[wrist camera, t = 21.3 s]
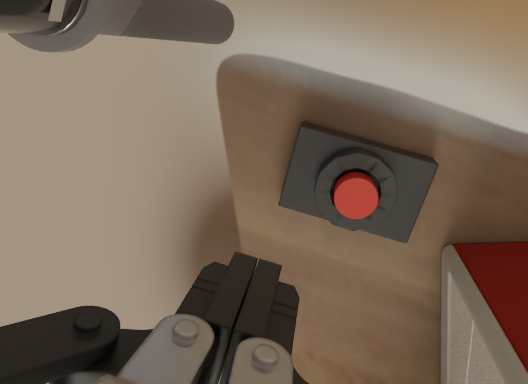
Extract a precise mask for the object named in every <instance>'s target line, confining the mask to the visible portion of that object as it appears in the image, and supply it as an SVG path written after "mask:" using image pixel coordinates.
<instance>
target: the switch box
mask: <svg viewBox="0 0 528 384" xmlns="http://www.w3.org/2000/svg"><path fill="white" fill-rule="evenodd" d="M438 166H439V164H438V163H437V162H436V161H435V160H434V159H433V158H431V157H427V156H424V155H420V154H417V153H413V152H409V151H406V150H402V149H399V148H395V147H392V146H388V145H384V144H381V143H377V142H374V141H370V140H367V139H363V138H360V137H356V136H352V135H349V134H345V133H342V132H338V131H335V130H331V129H327V128H324V127H320V126H317V125H313V124H310V123H306V122H303V123H302V124H301V126H300V129H299V133H298V136H297V140H296V144H295V147H294V151H293V154H292V158H291V161H290V165H289V169H288V172H287V176H286V179H285V183H284V186H283V190H282V194H281V197H280V201H279V206H282V207H286V208H289V209H292V210H296V211H299V212H302V213H306V214H309V215H312V216H316V217H319V218H322V219H326V220H329V221H330V222H331V223H332V224H334V225H335V226H339V227H342V228H345V229H349V230H352V231H353V230H354V231H355V230H363V231H366V232H369V233H373V234H376V235H379V236H383V237H386V238H389V239H393V240H396V241H399V242H403V243H407V241H408V239H409V236H410V234H411V231H412V229H413V227H414V224H415V222H416V219H417V217H418V214H419V212H420V209H421V207H422V205H423V202H424V200H425V197H426V195H427V192H428V190H429V188H430V185H431V183H432V180H433V178H434V175H435V173H436V170H437V168H438ZM350 172H361V173H364V174H366V175H368V176H369V177H371V178H372V180H373V181H374V182H375V185H376V188H377V192H378V197H379V200H378V204H377V207H376V209H375V210H374V211H373V212H372V213H371V214H370V215H369V216H367V217H364V218H361V219H351V218H348V217H345V216H344V215H342V214H341V213H340V212H339V211H338V210H337V208H336V206H335V203H334V188H335V185H336V183H337V181H338V180H339V179H340V178H341V177H342V176H343V175H345V174H347V173H350Z"/></svg>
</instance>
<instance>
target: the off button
mask: <svg viewBox="0 0 528 384" xmlns="http://www.w3.org/2000/svg"><path fill="white" fill-rule="evenodd" d="M378 200H379V197H378V192H377V188H376V185H375V182H374V181H373V180H372V178H371V177H369V176H368V175H366V174H364V173H361V172H350V173H347V174H345V175H343V176H342V177H341V178H340V179H339V180H338V181H337V183H336V185H335V188H334V203H335V206H336V208H337V210H338V211H339V212H340V213H341V214H342V215H344V216H345V217H348V218H351V219H361V218H364V217H367V216H369V215H370V214H371V213H372V212H373V211H374V210H375V209H376V207H377V204H378Z"/></svg>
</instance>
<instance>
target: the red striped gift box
mask: <svg viewBox="0 0 528 384" xmlns="http://www.w3.org/2000/svg"><path fill="white" fill-rule="evenodd" d="M440 384H528V242H513V243H480V244H455V245H454V246H453V245H447V246H446V247H444V248H443V250H442V262H441V382H440Z"/></svg>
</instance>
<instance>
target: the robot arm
mask: <svg viewBox="0 0 528 384" xmlns="http://www.w3.org/2000/svg"><path fill="white" fill-rule="evenodd" d="M87 4H88V0H0V33H12V34H29V35H33V36H39V37H54V36H58V35H61V34H64V33H66V32H67V31H69V30H70V29H72V28H73V27H74V26H75V25H76V24H77V23H78V22H79V20H80V19H81V17H82V16H83V14H84V12H85V10H86V7H87ZM257 260H258V258H256V257H252V256H249V255H246V254H242V253H239V252H235V253H234V255H233V257H232V259H231V261H230V264H229V265H228V266H227V265H224V264H220V263H217V262H213V263H211V264H209V265H207V266H206V267H204V268H203V269H202V270H201V272H200V274H199V276H198V277H197V279H196V280H195V282H194V284H193V285H192V288H190V290H189V292H188V293H187V295H186V297H185V298H184V300H183V302H182V303H181V305H180V307H179V309H178V310H177V312H176V313H175V314H174V315H170V316H168V317H165V318H164V319H162V320H161V321H160V322H159V323H158V324H157V326H156V327H155V328H154V329H150V330H131V329H120V321H119V319H118V317H117V316H116V315H115V314H114V313H113V312H112V311H109V310H108V309H105V308H102V307H98V306H80V307H76V308H72V309H68V310H64V311H60V312H56V313H53V314H49V315H45V316H41V317H37V318H33V319H30V320H26V321H22V322H18V323H14V324H10V325H6V326H2V327H0V384H46V383H49V384H218V382H219V379H220V377H221V380H220V383H219V384H309V383H307V382H306V381H305V380H304V379H303V378H302V377H301V376H300V375H299V374H298V373H297V371H296V370H295V368H294V366H293V360H292V358H291V353H292V346H293V339H294V332H295V325H296V318H297V310H298V304H299V296H298V293H297V291H296V289H295V287H294V286H292V285H289V284H286V283H283V282H279V281H278V280H279V275H280V271H281V267H282V265H279V264H276V263H272V262H269V261H266V260H262V259H259V262H258V265H257V267H256V264H257ZM255 268H256V270H255ZM254 271H255V273H254ZM253 275H254V276H253ZM252 278H253V279H252ZM222 371H223V372H222ZM221 374H222V376H221Z"/></svg>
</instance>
